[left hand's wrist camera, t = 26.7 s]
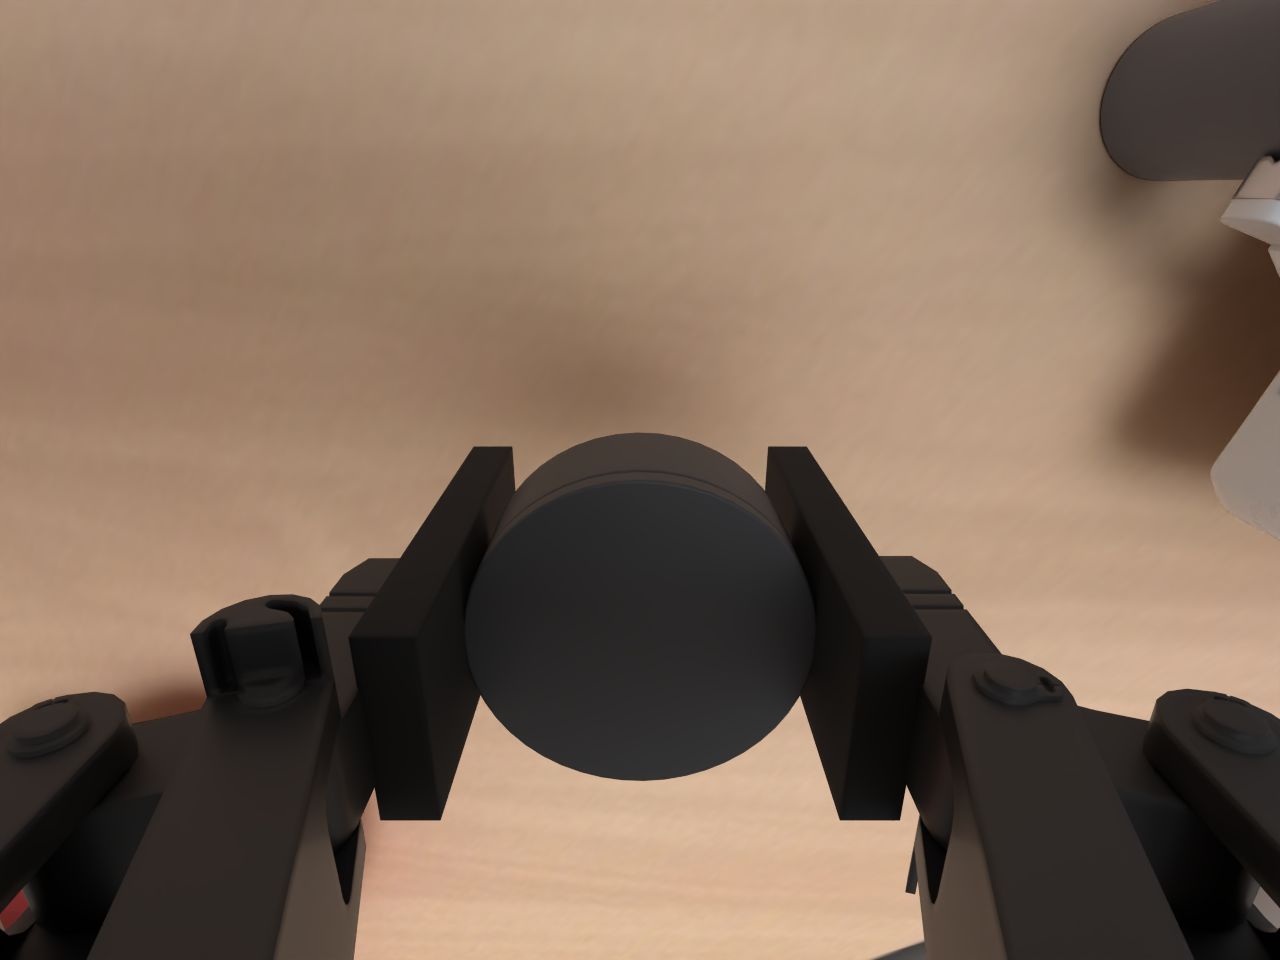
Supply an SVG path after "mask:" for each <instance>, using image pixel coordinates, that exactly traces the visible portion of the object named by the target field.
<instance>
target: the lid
mask: <svg viewBox="0 0 1280 960" xmlns="http://www.w3.org/2000/svg"><path fill="white" fill-rule="evenodd" d="M816 623H817V616H816V609H815V603H814V598H813V595H812V592H811V589H810V586H809V583H808V580H807V577H806V575H805V573H804V571H803V568H802V566H801V564H800V561H799V559H798V557H797V554H796V552H795V550H794V548H793V545H792V543H791V541H790V538H789V536H788V534H787V531H786V529H785V527H784V524H783V522H782V520H781V518H780V516H779V514H778V512H777V510H776V508H775V506H774V504H773V502H772V501H771V500H770V498H769V497H768V495H767V494H766V492H765V491H764V489H763V488H762V487H761V486H760V485H759V484H758V483H757V482H756V481H755V479H754V478H753V477H752V476H751V475H750V474H749V473H747V472H746V471H745V470H744V469H743V468H741V467H740V466H739V465H738V464H736V463H735V462H734V461H732V460H731V459H729V458H727V457H726V456H724V455H722V454H721V453H719V452H717V451H715V450H713V449H711V448H709V447H706V446H704V445H702V444H700V443H697V442H693V441H690V440H687V439H684V438H680V437H675V436H669V435H663V434H656V433H627V434H615V435H611V436H606V437H601V438H597V439H593V440H590V441H587V442H584V443H582V444H579V445H576V446H574V447H572V448H570V449H568V450H566V451H564V452H562V453H560V454H558V455H556V456H555V457H553V458H552V459H550V460H549V461H547V462H546V463H544V464H543V465H541V466H540V467H539V468H538V469H537V470H536V471H535V472H533V473H532V474H531V475H530V476H529V477H528V478H527V479H526V480H525V481H524V482H523V483H522V485H521V486H520V487H519V488H518V489H517V491H516V492H515V493H514V494H513V496H512V497H511V499H510V501H509V502H508V504H507V505H506V507H505V509H504V511H503V513H502V515H501V518H500V520H499V522H498V524H497V527H496V529H495V531H494V534H493V536H492V538H491V541H490V543H489V545H488V547H487V550H486V552H485V554H484V557H483V559H482V561H481V564H480V566H479V568H478V570H477V573H476V575H475V577H474V580H473V582H472V584H471V587H470V590H469V594H468V598H467V601H466V605H465V613H464V628H465V638H466V648H467V657H468V665H469V669H470V672H471V674H472V677H473V680H474V683H475V685H476V687H477V689H478V691H479V692H480V694H481V696H482V698H483V700H484V702H485V703H486V704H487V706H488V707H489V709H490V710H491V711H492V713H493V714H494V715H495V717H496V718H497V719H498V720H499V721H500V722H501V723H502V724H503V725H504V726H505V727H506V729H507V730H508V731H509V732H510V733H512V734H513V735H514V736H515V737H516V738H518V739H519V740H520V741H521V742H523V743H524V744H525V745H526V746H528V747H530V748H531V749H533V750H534V751H536V752H537V753H539V754H541V755H542V756H544V757H546V758H548V759H550V760H552V761H554V762H556V763H558V764H560V765H563V766H565V767H568V768H571V769H574V770H577V771H579V772H582V773H587V774H591V775H595V776H599V777H604V778H611V779H618V780H635V781H648V780H663V779H670V778H676V777H682V776H687V775H690V774H694V773H698V772H701V771H705V770H708V769H710V768H713V767H715V766H718V765H720V764H723V763H725V762H727V761H729V760H731V759H733V758H734V757H736V756H738V755H740V754H742V753H744V752H745V751H747V750H748V749H750V748H751V747H752V746H754V745H755V744H757V743H758V742H760V741H761V740H762V739H763V738H764V737H765V736H767V735H768V734H769V733H770V732H771V731H772V730H773V729H775V728H776V726H777V725H778V724H779V723H780V722H781V721H782V720H783V718H784V717H785V716H786V715H787V714H788V713H789V711H790V710H791V708H792V707H793V705H794V704H795V702H796V701H797V699H798V698H799V696H800V694H801V692H802V690H803V688H804V686H805V684H806V682H807V680H808V677H809V674H810V670H811V667H812V661H813V653H814V644H815V634H816Z"/></svg>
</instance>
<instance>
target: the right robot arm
mask: <svg viewBox="0 0 1280 960" xmlns="http://www.w3.org/2000/svg"><path fill="white" fill-rule="evenodd" d="M1220 221H1221V223H1222V224H1224V225H1227V226H1229V227H1231V228H1234V229H1236V230H1238V231H1241V232H1243V233H1245V234H1248V235H1250V236H1252V237H1254V238H1257V239H1259V240H1261V241H1264V242H1266V243H1268V244H1271V245H1270V247H1269V249H1268V251H1269V254H1270V256H1271V259H1272V261H1273V263H1274V266H1275V268H1276V270H1277V273H1278V275H1279V277H1280V160H1278V159H1276V158H1274V157H1272V156H1268V157H1261V158H1258V159H1257V161H1256V162H1255V164H1254V165H1253V167H1252V168H1251V170H1250V171H1249V173H1248V175H1247V176H1246V178H1245V179H1244V181H1243V182H1242V184H1241V186H1240V187H1239V189H1238V190H1237V192H1236V193H1235V195H1234V196H1233V198H1232V201H1231V203H1230V204H1229V206H1228V207H1227V209H1226V210H1225V212H1224V213H1223V215H1222V217H1221V218H1220ZM1210 475H1211V480H1212V484H1213V487H1214V490H1215V492H1216V495H1217V497H1218V500H1219V502H1220V505H1221V506H1222V507H1223V508H1224V509H1225V510H1226V511H1227V512H1229V513H1231V514H1232V515H1234V516H1235V517H1237V518H1239V519H1241V520H1242V521H1244V522H1246V523H1247V524H1249V525H1251V526H1252V527H1254V528H1256V529H1258V530H1260V531H1262V532H1264V533H1266V534H1268V535H1269V536H1271V537H1273V538H1275V539H1277V540H1279V541H1280V371H1279V372H1278V374H1277V375H1276V376H1275V378H1274V379H1273V381H1272V382H1271V383H1270V385H1269V386H1268V388H1267V389H1266V391H1265V392H1264V393H1263V395H1262V396H1261V398H1260V399H1259V401H1258V402H1257V403H1256V405H1255V406H1254V408H1253V409H1252V411H1251V412H1250V413H1249V415H1248V416H1247V418H1246V419H1245V421H1244V422H1243V423H1242V425H1241V426H1240V428H1239V429H1238V431H1237V432H1236V433H1235V435H1234V436H1233V438H1232V439H1231V440H1230V442H1229V443H1228V445H1227V446H1226V447H1225V449H1224V450H1223V451H1222V453H1221V454H1220V455H1219V457H1218V458H1217V460H1216V461H1215V463H1214V465H1213V466H1212V469H1211V473H1210Z"/></svg>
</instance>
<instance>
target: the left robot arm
mask: <svg viewBox="0 0 1280 960" xmlns="http://www.w3.org/2000/svg"><path fill="white" fill-rule="evenodd" d="M765 492H766V494H767V495H768V497H769V498H770V500H771V501H772V502H773V504H774V506H775V508H776V510H777V512H778V514H779V516H780V518H781V520H782V522H783V524H784V527H785V529H786V531H787V534H788V536H789V538H790V541H791V543H792V545H793V548H794V550H795V552H796V554H797V557H798V559H799V561H800V564H801V566H802V568H803V571H804V573H805V575H806V577H807V580H808V583H809V586H810V589H811V592H812V595H813V598H814V603H815V609H816V616H817V623H816V634H815V644H814V653H813V661H812V667H811V670H810V674H809V677H808V680H807V682H806V684H805V686H804V688H803V690H802V692H801V694H800V697H801V700H802V703H803V706H804V709H805V712H806V715H807V719H808V722H809V725H810V728H811V731H812V734H813V737H814V741H815V744H816V747H817V750H818V753H819V756H820V759H821V762H822V766H823V769H824V772H825V775H826V778H827V781H828V784H829V788H830V791H831V794H832V797H833V800H834V803H835V806H836V809H837V813H838V816H839V819H840V820H900V817H901V811H902V806H903V800H904V795H905V789H906V785H907V787H908V789H909V792H910V794H911V796H912V798H913V800H914V803H915V805H916V807H917V809H918V812H919V814H920V816H919V821H918V826H917V831H916V837H915V842H914V847H913V852H912V858H911V863H910V868H909V873H908V879H907V885H906V892H907V893H912V894H915V892H916V887H917V882H918V886H919V895H920V904H921V913H922V922H923V931H924V940H925V949H926V958H927V960H1280V928H1279V929H1277V928H1276V927H1275V926H1274V925H1272V924H1271V923H1270V922H1269V921H1268V920H1267V919H1266V918H1265V917H1264V916H1263V915H1262V913H1261V912H1260V911H1259V910H1258V909H1257V907H1256V906H1255V905H1254V904H1253V902H1254V899H1255V897H1256V895H1257V893H1258V890H1259V888H1260V886H1261V887H1262V888H1263V889H1264V891H1265V892H1266V893H1267V894H1268V895H1269V896H1270V897H1271V899H1272V900H1273V901H1274V902H1275V903H1276V904H1277V905H1278V907H1279V908H1280V719H1278V718H1277V717H1275V716H1274V715H1272V714H1271V713H1269V712H1267V711H1264V710H1262V709H1260V708H1258V707H1256V706H1253V705H1251V704H1250V703H1248V702H1247V701H1245V700H1242V699H1239V698H1236V697H1233V696H1230V697H1229V696H1227V695H1226V694H1222V693H1217V692H1210V691H1202V690H1194V689H1182V690H1174V691H1168V692H1166V693H1165V694H1164V695H1162V696H1161V697H1160V698H1158V699H1157V700H1156V703H1155V707H1154V710H1153V713H1152V716H1151V719H1150V721H1146V720H1141V719H1136V718H1131V717H1126V716H1121V715H1116V714H1111V713H1106V712H1101V711H1096V710H1092V709H1088V708H1084V707H1081V706H1077V704H1076V702H1075V699H1074V697H1073V696H1072V694H1071V693H1070V692H1069V690H1068V689H1067V688H1066V687H1065V685H1064V684H1063V683H1062V681H1060V680H1059V679H1057V678H1056V677H1054V676H1053V675H1052V674H1050V673H1049V672H1047V671H1046V670H1045V669H1043V668H1041V667H1038V666H1036V665H1034V664H1031V663H1029V662H1027V661H1025V660H1022V659H1019V658H1015V657H1011V656H1007V655H1002V654H1001V653H1000V651H999V650H998V649H997V647H996V646H995V645H994V644H993V642H992V641H991V640H990V639H989V637H988V636H987V635H986V633H985V632H984V631H983V630H982V628H981V627H980V626H979V625H978V623H977V622H976V621H975V620H974V618H973V617H972V616H971V614H970V613H969V612H968V611H967V609H964V608H963V604H962V603H961V602H960V600H959V599H958V598H957V597H956V595H955V594H952V593H951V589H950V588H949V586H948V585H947V584H946V583H945V581H944V580H943V579H942V578H941V576H940V575H939V574H938V572H936V571H935V570H933V569H932V568H930V567H928V566H927V565H925V564H924V563H922V562H920V561H919V560H917V559H916V558H914V557H912V556H878V554H877V553H876V551H875V550H874V548H873V546H872V545H871V543H870V542H869V540H868V539H867V537H866V536H865V534H864V533H863V531H862V530H861V528H860V527H859V525H858V524H857V522H856V521H855V519H854V518H853V516H852V515H851V513H850V512H849V510H848V509H847V507H846V506H845V504H844V503H843V501H842V500H841V498H840V496H839V495H838V493H837V492H836V490H835V489H834V487H833V486H832V484H831V483H830V481H829V480H828V478H827V477H826V475H825V474H824V472H823V471H822V469H821V468H820V466H819V465H818V463H817V462H816V460H815V459H814V457H813V456H812V454H811V453H810V451H809V450H808V448H807V447H768V457H767V471H766V486H765ZM514 493H515V479H514V465H513V450H512V447H473V449H472V450H471V452H470V453H469V455H468V456H467V458H466V459H465V461H464V462H463V464H462V465H461V467H460V468H459V470H458V471H457V473H456V474H455V476H454V477H453V479H452V481H451V482H450V484H449V485H448V487H447V488H446V490H445V491H444V493H443V494H442V496H441V497H440V499H439V500H438V502H437V503H436V505H435V506H434V508H433V509H432V511H431V512H430V514H429V515H428V517H427V518H426V520H425V521H424V523H423V524H422V526H421V527H420V529H419V531H418V532H417V534H416V535H415V537H414V538H413V540H412V541H411V543H410V544H409V546H408V547H407V549H406V550H405V552H404V553H403V555H402V556H401V558H369V559H367V560H366V561H364V562H363V563H361V564H359V565H358V566H356V567H355V568H353V569H351V570H350V571H348V572H347V573H345V574H344V575H343V576H342V577H341V579H340V580H339V581H338V582H337V584H336V585H335V586H334V588H333V589H332V590H331V591H330V593H329V594H330V595H329V596H326V598H325V599H324V600H323V602H322V603H321V604H320V605H319V604H317V603H316V602H315V601H313V600H312V599H311V598H307V597H302V596H297V595H293V594H291V595H268V596H263V597H258V598H254V599H249V600H245V601H242V602H239V603H237V604H234V605H231V606H229V607H226V608H223V609H221V610H219V611H218V612H216V613H214V614H213V615H211V616H209V617H208V618H206V619H205V620H203V621H202V622H201V623H200V624H199V625H198V626H197V627H196V628H195V629H194V630H193V631H192V633H191V634H190V636H191V640H192V643H193V647H194V651H195V654H196V658H197V662H198V665H199V669H200V673H201V676H202V680H203V684H204V687H205V691H206V694H207V699H206V701H205V703H204V705H203V707H202V709H200V710H197V711H193V712H189V713H185V714H180V715H175V716H170V717H165V718H160V719H155V720H150V721H145V722H140V723H135V724H132V723H131V720H130V717H129V714H128V711H127V708H126V705H125V702H123V701H122V700H121V699H119V698H118V697H117V696H115V695H114V694H106V693H99V692H89V693H81V694H73V695H65V696H61V697H56V698H55V699H53V700H52V699H49V700H46V701H44V702H41V703H38V704H36V705H34V706H32V707H31V708H29V709H27V710H24V711H22V712H20V713H18V714H16V715H14V716H12V717H10V718H8V719H7V720H5V721H4V722H2V723H1V724H0V914H1V913H2V912H3V910H4V909H5V908H6V907H7V906H8V905H9V904H10V902H11V901H12V900H13V899H14V898H15V897H16V896H17V894H18V893H19V892H20V891H21V890H22V891H23V893H24V896H25V898H26V900H27V902H28V905H29V906H28V908H27V909H26V910H25V911H24V912H23V914H22V915H21V916H20V917H19V918H18V919H17V921H15V922H14V923H13V924H12V925H11V926H10V927H8V928H7V929H6V930H5V931H3V930H2V929H0V960H354V951H355V942H356V933H357V924H358V915H359V905H360V896H361V887H362V878H363V869H364V860H365V851H366V844H365V838H364V831H363V826H362V821H361V816H362V814H363V812H364V810H365V807H366V805H367V803H368V801H369V798H370V796H371V794H372V792H373V790H374V787H375V792H376V798H377V803H378V809H379V815H380V820H441V817H442V814H443V811H444V808H445V805H446V801H447V798H448V795H449V792H450V789H451V786H452V783H453V780H454V776H455V773H456V770H457V767H458V764H459V761H460V758H461V754H462V751H463V748H464V745H465V742H466V739H467V736H468V732H469V729H470V726H471V723H472V720H473V717H474V714H475V711H476V707H477V704H478V701H479V698H480V695H481V694H480V692H479V691H478V689H477V687H476V685H475V683H474V680H473V677H472V674H471V672H470V669H469V665H468V657H467V648H466V638H465V628H464V613H465V605H466V601H467V598H468V594H469V590H470V587H471V584H472V582H473V580H474V577H475V575H476V573H477V570H478V568H479V566H480V564H481V561H482V559H483V557H484V554H485V552H486V550H487V547H488V545H489V543H490V541H491V538H492V536H493V534H494V531H495V529H496V527H497V524H498V522H499V520H500V518H501V515H502V513H503V511H504V509H505V507H506V505H507V504H508V502H509V501H510V499H511V497H512V496H513V494H514Z"/></svg>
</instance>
